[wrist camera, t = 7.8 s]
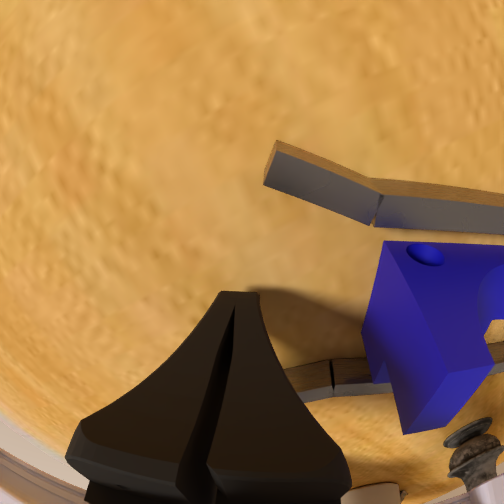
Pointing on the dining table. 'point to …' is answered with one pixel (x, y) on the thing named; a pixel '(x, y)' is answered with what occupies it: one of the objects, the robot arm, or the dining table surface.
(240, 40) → the dining table surface
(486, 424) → the salt shaker
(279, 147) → the rail
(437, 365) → the blue cradle block
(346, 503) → the travel mug
